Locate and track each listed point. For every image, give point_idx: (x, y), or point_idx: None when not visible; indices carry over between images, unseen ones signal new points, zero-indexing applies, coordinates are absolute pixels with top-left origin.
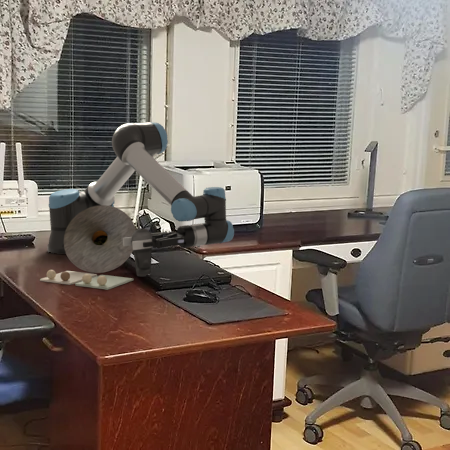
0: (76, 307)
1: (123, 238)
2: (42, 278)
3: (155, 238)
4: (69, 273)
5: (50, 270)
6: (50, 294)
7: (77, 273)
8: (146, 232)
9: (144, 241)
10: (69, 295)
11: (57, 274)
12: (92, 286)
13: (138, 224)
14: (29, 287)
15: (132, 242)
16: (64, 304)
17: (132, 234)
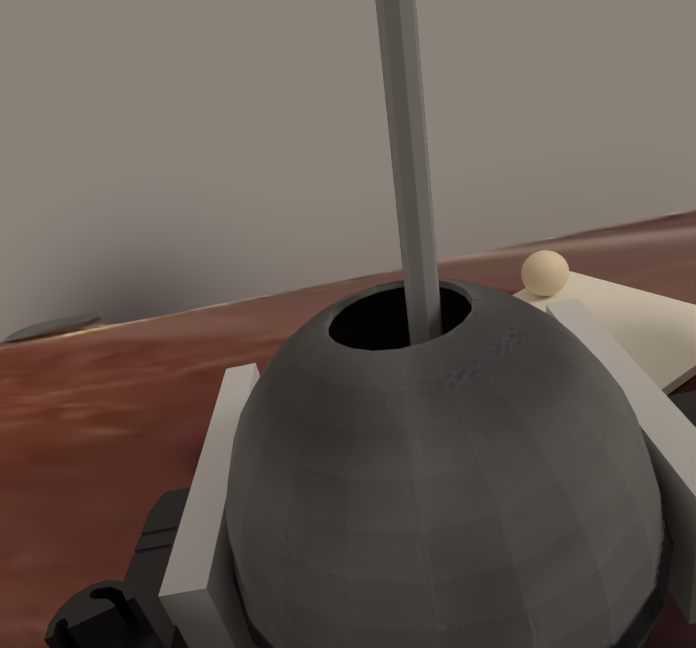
0: (70, 375)
1: (555, 307)
2: (569, 273)
3: (51, 644)
4: (663, 332)
5: (536, 253)
6: (305, 316)
7: (653, 358)
8: (254, 424)
9: (197, 491)
10: (240, 356)
11: (648, 300)
12: None
13: (400, 192)
14: (457, 269)
15: (251, 374)
16: (139, 350)
17: (453, 315)
